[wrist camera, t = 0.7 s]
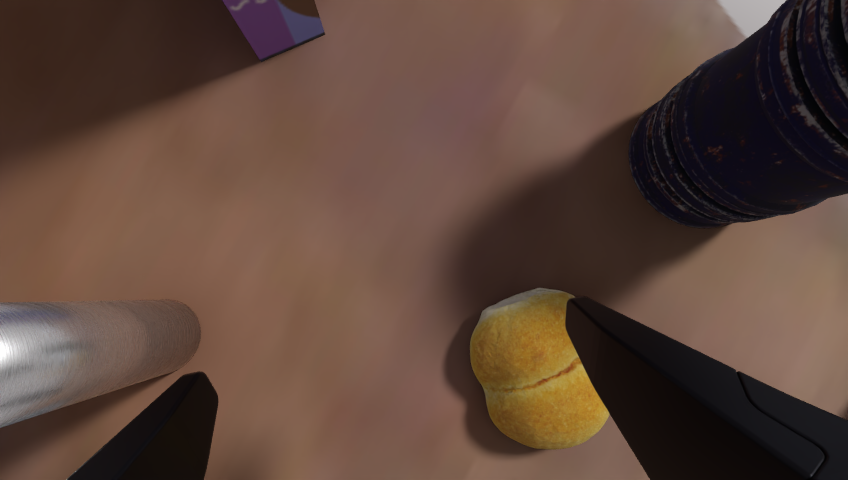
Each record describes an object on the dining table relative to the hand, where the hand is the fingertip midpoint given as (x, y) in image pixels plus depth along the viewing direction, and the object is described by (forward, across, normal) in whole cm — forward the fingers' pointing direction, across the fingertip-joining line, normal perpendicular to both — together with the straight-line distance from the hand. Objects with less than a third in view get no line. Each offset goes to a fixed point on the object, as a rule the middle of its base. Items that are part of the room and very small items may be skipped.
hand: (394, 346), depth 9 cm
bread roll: (+9, -8, +12) cm, 17 cm away
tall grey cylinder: (+12, +14, +8) cm, 20 cm away
